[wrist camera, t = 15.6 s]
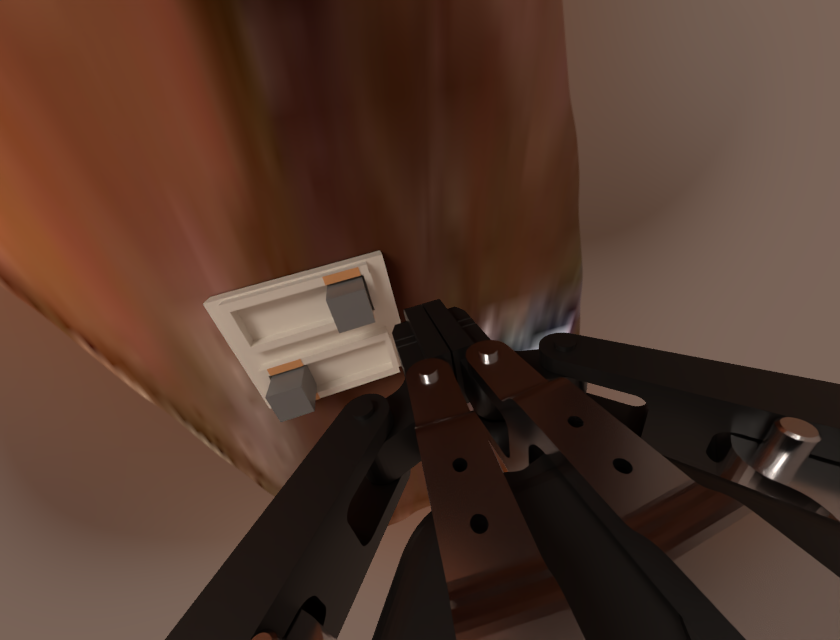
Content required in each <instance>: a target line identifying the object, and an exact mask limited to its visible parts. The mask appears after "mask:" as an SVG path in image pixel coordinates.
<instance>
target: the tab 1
mask: <svg viewBox="0 0 840 640" xmlns="http://www.w3.org/2000/svg"><path fill="white" fill-rule="evenodd" d="M316 390H317V384H316V382H315V380H314V378H313V376H312V374H311V372H310V370H309V368H308V366H307V364H306V365H304V366H301V367H298V368H295V369H292V370H288V371H285V372H282V373H279V374H276V375H272V378H271V381H270V384H269V387H268V391H267V394H266V397H265V398H266V400H267V401H268V403H269V405H270V406H271V408H272V409H273V411H274V412H275V414H276V416H277V417H278V419H279V420H280V422H283V421H286V420H289V419H292V418H295V417H298V416H301V415H304V414H307V413H310V412H313V411H315V401H316Z"/></svg>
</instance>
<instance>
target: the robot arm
mask: <svg viewBox="0 0 840 640" xmlns="http://www.w3.org/2000/svg"><path fill="white" fill-rule="evenodd" d="M404 315H405V319H406V322H403V323H399V324H396V325H395V326H394V328H393V331H392V335H393V339H394V342H395V346H396V349H397V352H398V356H399V359H400V363H401V366H402V369H403V372H404V375H405V380H404V383H403V384H402V386H401V387H400V388H399V389H398V390H397V391H396V392H394V393H393V394H392V395H390V396H388V397H387V398H384V397H383V396H381V395H378V394H365V395H362V396H359V397H357V398H355V399H353V400H352V401H350V402H349V403H348V404H347V405H346V406H345V407H344V408H343V410H342V411H341V412H340V414H339V415H338V416H337V417H336V419H335V420H334V421H333V423H332V424H331V425H330V426H329V428H328V429H327V430H326V432H325V433H324V434H323V436H322V437H321V438H320V439H319V441H318V442H317V443H316V445H315V446H314V447H313V449H312V450H311V451H310V452H309V454H308V455H307V456H306V458H305V459H304V460H303V461H302V463H301V464H300V465H299V467H298V468H297V469H296V471H295V472H294V473H293V474H292V476H291V477H290V478H289V480H288V481H287V482H286V483H285V485H284V486H283V487H282V489H281V490H280V491H279V493H278V494H277V495H276V496H275V498H274V499H273V500H272V502H271V503H270V504H269V505H268V507H267V508H266V509H265V511H264V512H263V513H262V515H261V516H260V517H259V519H258V520H257V521H256V522H255V524H254V525H253V526H252V527H251V529H250V530H249V532H248V533H247V534H246V535H245V537H244V538H243V539H242V540H241V542H240V543H239V544H238V546H237V547H236V548H235V549H234V551H233V552H232V553H231V555H230V556H229V558H228V559H227V560H226V561H225V562H224V564H223V565H222V566H221V568H220V569H219V570H218V572H217V573H216V574H215V575H214V577H213V578H212V579H211V581H210V582H209V583H208V585H207V586H206V587H205V588H204V590H203V591H202V592H201V594H200V595H199V596H198V597H197V599H196V600H195V601H194V603H193V604H192V605H191V606H190V608H189V609H188V610H187V612H186V613H185V614H184V616H183V617H182V618H181V619H180V621H179V622H178V624H177V625H176V626H175V627H174V629H173V630H172V631H171V632H170V634H169V635H168V636H167V638H166V639H165V640H337V637H338V635H339V633H340V630H341V629H342V626H343V624H344V621H345V620H346V617H347V615H348V613H349V611H350V608H351V606H352V604H353V602H354V600H355V597H356V595H357V593H358V591H359V588H360V586H361V584H362V582H363V579H364V577H365V575H366V573H367V570H368V568H369V566H370V564H371V562H372V559H373V557H374V555H375V553H376V550H377V548H378V546H379V544H380V541H381V539H382V537H383V535H384V532H385V530H386V528H387V526H388V524H389V521H390V519H391V517H392V515H393V512H394V510H395V508H396V506H397V504H398V501H399V499H400V497H401V495H402V492H403V490H404V488H405V486H406V483H407V481H408V479H409V476H410V469H411V468H412V467H414V466H415V465H416V464H418V463H419V462H420V461H422V466H423V471H424V476H425V481H426V485H427V490H428V495H429V500H430V505H431V510H432V511H431V512H430V513H429V514H428V515H427V516H426V517H425V518H424V519H423V520H422V521H421V522H420V524H419V525H418V526H417V527H416V529H415V531H414V532H413V534H412V535H411V537H410V539H409V541H408V543H407V545H406V547H405V549H404V551H403V554H402V556H401V559H400V562H399V564H398V567H397V570H396V573H395V576H394V579H393V581H392V585H391V587H390V590H389V593H388V596H387V598H386V601H385V604H384V607H383V610H382V613H381V616H380V618H379V621H378V624H377V627H376V630H375V632H374V635H373V638H372V640H840V384H836V383H831V382H826V381H820V380H815V379H810V378H804V377H799V376H793V375H788V374H783V373H777V372H772V371H767V370H762V369H756V368H751V367H746V366H741V365H735V364H730V363H724V362H719V361H714V360H709V359H703V358H697V357H692V356H687V355H682V354H677V353H672V352H666V351H661V350H655V349H650V348H645V347H640V346H634V345H628V344H624V343H618V342H613V341H608V340H603V339H597V338H592V337H587V336H581V335H576V334H571V333H554V334H550V335H547V336H545V337H544V338H542V339H541V341H540V343H539V349H537V350H526V351H513V350H512V349H511V348H510V347H509V346H508V345H506V344H505V343H503V342H500V341H495V340H490V339H489V337H488V336H487V335H486V334H485V333H484V332H483V331H482V330H481V328H480V327H479V326H478V325H477V324H475V322H474V321H473V319H472V318H470V316H469V315H468V314H467V313H466V312H465V311H464V310H462V309H459V308H457V307H452V308H449V309H447V308H446V307H445V305H444V304H443V303H442V302H441V300H440V299H437V300H434V301H431V302H427V303H424V304H422V305H417V306H414V307H411V308H407V309H404ZM587 382H588V383H592V384H595V385H599V386H603V387H606V388H610V389H614V390H618V391H621V392H625V393H628V394H632V395H636V396H638V397H640V398H642V399H643V400H644V401H645V402H646V404H645V405H643V406H631V405H627V404H624V403H620V402H617V401H614V400H610V399H606V398H603V397H600V396H596V395H593V394H589V393H586V390H587ZM469 402H470V403H471V405H472V407H473V410H474V411H470V410H469V408H468V405H467V403H469ZM488 440H489V441H488ZM489 442H490V443H491V445H492V446H493V448H494V449H495V451H496V452H497V454H498V455H499V457H500V458H501V460H502V461H503V463H504V464H505V466H506V468H507V470H508V472H504V473H503V471H502V469H501V467H500V465H499V462H498V460H497V458H496V456H495V454H494V451H493V449H492V447H491V445H490V443H489Z"/></svg>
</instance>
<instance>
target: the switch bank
mask: <svg viewBox="0 0 840 640" xmlns="http://www.w3.org/2000/svg"><path fill="white" fill-rule="evenodd" d="M361 275H362V278H363V281H364V284H365V287H366V290H367V294H368V297H369V300H370V303H371V306H372V310H373V314H374V318H375V323H372V324H368V325H365V326H362V327H359V328H355V329H352V330H349V331H345V332H342V333H339V332H338V329H337V327H336V324H335V322H334V319H333V317H332V314H331V312H330V309H329V307H328V305H327V302H326V292H327V285H329V284H333V283H336V282H340V281H343V280H347V279H350V278H354V277H357V276H361ZM203 305H204V307H205V308H206V310H207V311H208V313H209V314H210V316H211V318H212V319H213V321H214V322H215V324H216V325H217V327H218V329H219V330H220V332H221V333H222V335H223V336H224V338H225V340H226V341H227V343H228V344H229V346H230V347H231V349H232V350H233V352H234V354H235V355H236V357H237V358H238V360H239V361H240V363H241V365H242V366H243V368H244V369H245V371H246V372H247V374H248V375H249V377H250V379H251V380H252V382H253V383H254V385H255V386H256V388H257V390H258V391H259V393H260V394H261V396H262V397H263V399H264V401H265V402H266V404H267V405H268V407H269V408H271V406H270V405H269V403H268V401H267V400H266V398H265V397H266V394H267V391H268V387H269V384H270V381H271V378H272V375H276V374H279V373H282V372H285V371H288V370H292V369H295V368H298V367H301V366H304V365H306V364H307V366H308V368H309V370H310V372H311V374H312V376H313V378H314V380H315V382H316V384H317V390H316V400H318V399H320V398H322V397H325V396H328V395H332V394H335V393H338V392H341V391H344V390H347V389H350V388H353V387H356V386H359V385H362V384H365V383H368V382H371V381H374V380H377V379H380V378H384V377H387V376H390V375H393V374H396V373H399V372H400V370H399V367H400V366H401V363H400V359H399V356H398V352H397V349H396V346H395V342H394V339H393V335H392V331H393V328H394V326H395V325H396V324H399V323H401V321H400V318H399V314H398V310H397V307H396V303H395V300H394V296H393V292H392V289H391V285H390V281H389V278H388V274H387V271H386V267H385V263H384V260H383V256H382V253H381V252H380V251H376V252H372V253H369V254H365V255H361V256H358V257H354V258H350V259H347V260H343V261H340V262H336V263H332V264H329V265H325V266H321V267H318V268H314V269H310V270H307V271H303V272H300V273H296V274H292V275H289V276H285V277H281V278H278V279H274V280H270V281H267V282H263V283H260V284H256V285H252V286H249V287H245V288H241V289H238V290H234V291H230V292H227V293H223V294H219V295H216V296H212V297H209V298H208V299H207V300H206V301H205V302H204V303H203Z"/></svg>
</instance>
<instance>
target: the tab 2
mask: <svg viewBox="0 0 840 640" xmlns="http://www.w3.org/2000/svg"><path fill="white" fill-rule="evenodd" d="M326 302H327V305H328V307H329V309H330V312H331V314H332V317H333V319H334V322H335V324H336V327H337V329H338V332H339V333H342V332H345V331H349V330H352V329H355V328H359V327H362V326H365V325H368V324H372V323H375V318H374V314H373V310H372V306H371V303H370V300H369V297H368V294H367V290H366V287H365V284H364V281H363V278H362V275H361V276H357V277H354V278H350V279H347V280H343V281H340V282H336V283H333V284H329V285H327V292H326Z"/></svg>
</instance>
